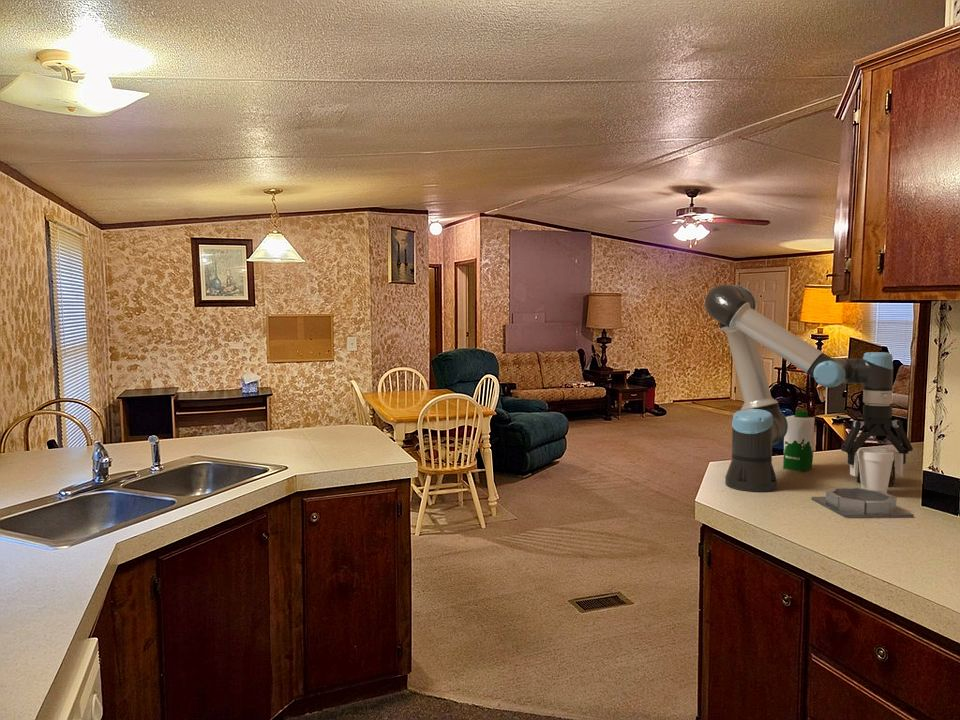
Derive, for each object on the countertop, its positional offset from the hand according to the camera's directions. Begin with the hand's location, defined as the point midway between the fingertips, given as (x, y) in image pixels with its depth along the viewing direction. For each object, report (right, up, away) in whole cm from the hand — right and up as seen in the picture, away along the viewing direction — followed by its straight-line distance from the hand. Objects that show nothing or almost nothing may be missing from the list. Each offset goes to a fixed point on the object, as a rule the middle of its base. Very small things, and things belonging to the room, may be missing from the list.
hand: (876, 475), depth 203 cm
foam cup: (0, -6, +1) cm, 6 cm away
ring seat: (-13, -7, -15) cm, 21 cm away
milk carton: (-8, -4, +33) cm, 35 cm away
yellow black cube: (+8, -5, +15) cm, 18 cm away
